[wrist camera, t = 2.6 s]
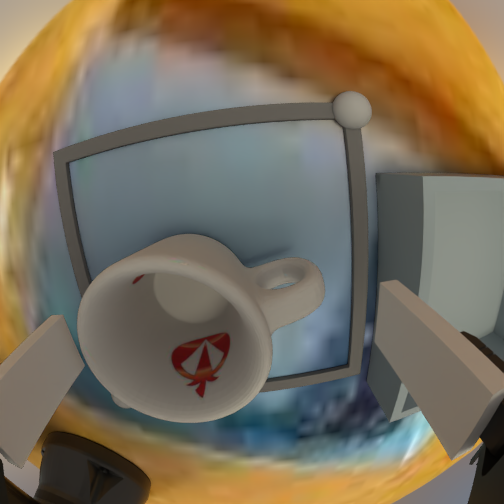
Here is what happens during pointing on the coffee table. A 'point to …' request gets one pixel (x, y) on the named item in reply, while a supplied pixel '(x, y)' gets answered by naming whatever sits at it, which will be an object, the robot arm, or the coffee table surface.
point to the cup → (190, 326)
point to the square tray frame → (342, 110)
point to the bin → (440, 261)
